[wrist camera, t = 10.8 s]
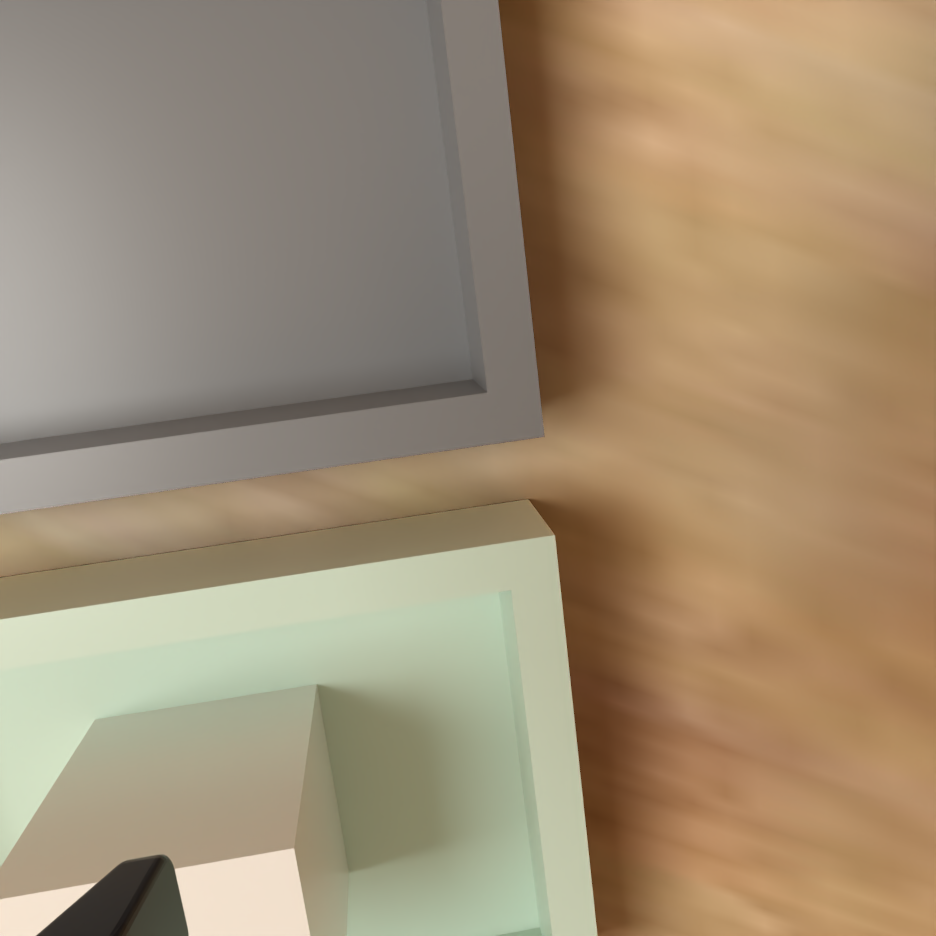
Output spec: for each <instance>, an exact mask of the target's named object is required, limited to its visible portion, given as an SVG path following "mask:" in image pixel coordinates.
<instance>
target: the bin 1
mask: <svg viewBox="0 0 936 936" xmlns="http://www.w3.org/2000/svg"><path fill="white" fill-rule="evenodd" d="M539 437H544V427H543V418H542V409H541V399H540V390H539V380H538V371H537V362H536V352H535V343H534V333H533V324H532V314H531V305H530V296H529V286H528V277H527V267H526V258H525V249H524V239H523V230H522V220H521V211H520V202H519V192H518V183H517V173H516V164H515V154H514V145H513V136H512V126H511V117H510V107H509V98H508V89H507V79H506V70H505V60H504V51H503V42H502V32H501V23H500V13H499V4H498V0H0V514H7V513H14V512H21V511H28V510H35V509H42V508H49V507H56V506H63V505H70V504H77V503H84V502H91V501H98V500H105V499H112V498H119V497H126V496H133V495H140V494H147V493H154V492H161V491H168V490H175V489H182V488H189V487H196V486H203V485H210V484H217V483H224V482H231V481H238V480H245V479H252V478H259V477H266V476H273V475H280V474H287V473H294V472H301V471H308V470H315V469H322V468H329V467H336V466H343V465H350V464H357V463H364V462H371V461H378V460H385V459H392V458H399V457H406V456H413V455H420V454H427V453H434V452H441V451H448V450H455V449H462V448H469V447H476V446H483V445H490V444H497V443H504V442H511V441H518V440H525V439H532V438H539Z"/></svg>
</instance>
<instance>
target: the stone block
mask: <svg viewBox="0 0 936 936" xmlns="http://www.w3.org/2000/svg"><path fill="white" fill-rule="evenodd" d="M158 854H164V855H166V856H168V857H169V858H170V860H171V861H172V863H173V866H174V869H175V873H176V878H177V882H178V887H179V891H180V895H181V900H182V904H183V909H184V913H185V918H186V922H187V927H188V933H189V936H347V914H348V888H349V869H348V864H347V858H346V852H345V846H344V840H343V834H342V829H341V823H340V817H339V811H338V805H337V799H336V793H335V788H334V782H333V776H332V770H331V764H330V758H329V753H328V747H327V741H326V735H325V729H324V723H323V718H322V712H321V706H320V700H319V694H318V688H317V684H315V685H309V686H302V687H296V688H290V689H283V690H277V691H271V692H265V693H258V694H252V695H246V696H239V697H233V698H227V699H221V700H214V701H208V702H202V703H195V704H189V705H183V706H177V707H170V708H164V709H158V710H152V711H145V712H139V713H133V714H126V715H120V716H114V717H108V718H101V719H95V720H94V722H93V723H92V725H91V726H90V728H89V730H88V731H87V733H86V734H85V736H84V737H83V739H82V741H81V742H80V744H79V745H78V747H77V748H76V750H75V752H74V753H73V755H72V756H71V758H70V759H69V761H68V762H67V764H66V766H65V767H64V769H63V770H62V772H61V773H60V775H59V777H58V778H57V780H56V781H55V783H54V784H53V786H52V787H51V789H50V791H49V792H48V794H47V795H46V797H45V798H44V800H43V802H42V803H41V805H40V806H39V808H38V809H37V811H36V812H35V814H34V816H33V817H32V819H31V820H30V822H29V823H28V825H27V827H26V828H25V830H24V831H23V833H22V834H21V836H20V838H19V839H18V841H17V842H16V844H15V845H14V847H13V848H12V850H11V852H10V853H9V855H8V856H7V858H6V859H5V861H4V863H3V864H2V866H1V867H0V936H36V935H37V934H38V933H40V932H41V931H42V930H43V929H44V928H45V927H47V926H48V925H49V924H50V923H51V922H52V921H54V920H55V919H56V918H57V917H58V916H59V915H60V914H62V913H63V912H64V911H65V910H66V909H67V908H69V907H70V906H71V905H72V904H73V903H74V902H76V901H77V900H78V899H79V898H80V897H81V896H82V895H84V894H85V893H86V892H87V891H88V890H89V889H91V888H92V887H93V886H94V885H95V884H96V883H98V882H99V881H100V880H101V879H102V878H103V877H104V876H106V875H107V874H108V873H109V872H110V871H111V870H113V869H114V868H115V867H116V866H117V865H119V864H120V863H121V862H123V861H126V860H130V859H135V858H141V857H147V856H153V855H158Z"/></svg>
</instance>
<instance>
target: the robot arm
mask: <svg viewBox="0 0 936 936" xmlns="http://www.w3.org/2000/svg"><path fill="white" fill-rule="evenodd" d="M36 936H189V933H188V927H187V922H186V918H185V913H184V909H183V904H182V900H181V895H180V891H179V887H178V882H177V878H176V873H175V869H174V866H173V863H172V861H171V860H170V858H169V857H168V856H166V855H164V854H158V855H153V856H147V857H141V858H135V859H130V860H126V861H123V862H121V863H120V864H119V865H117V866H116V867H115V868H114V869H113V870H111V871H110V872H109V873H108V874H107V875H106V876H104V877H103V878H102V879H101V880H100V881H99V882H98V883H96V884H95V885H94V886H93V887H92V888H91V889H89V890H88V891H87V892H86V893H85V894H84V895H82V896H81V897H80V898H79V899H78V900H77V901H76V902H74V903H73V904H72V905H71V906H70V907H69V908H67V909H66V910H65V911H64V912H63V913H62V914H60V915H59V916H58V917H57V918H56V919H55V920H54V921H52V922H51V923H50V924H49V925H48V926H47V927H45V928H44V929H43V930H42V931H41V932H40V933H38V934H37V935H36Z"/></svg>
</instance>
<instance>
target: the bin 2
mask: <svg viewBox="0 0 936 936" xmlns="http://www.w3.org/2000/svg"><path fill="white" fill-rule="evenodd" d="M315 684H317V688H318V694H319V700H320V706H321V712H322V718H323V723H324V729H325V735H326V741H327V747H328V753H329V758H330V764H331V770H332V776H333V782H334V788H335V793H336V799H337V805H338V811H339V817H340V823H341V829H342V834H343V840H344V846H345V852H346V858H347V864H348V869H349V888H348V914H347V936H597V926H596V917H595V907H594V898H593V888H592V879H591V870H590V860H589V851H588V841H587V832H586V823H585V813H584V804H583V794H582V785H581V776H580V766H579V757H578V747H577V738H576V728H575V719H574V710H573V700H572V691H571V681H570V672H569V663H568V653H567V644H566V634H565V625H564V616H563V606H562V597H561V587H560V578H559V569H558V559H557V550H556V540H555V534H554V533H553V532H552V530H551V529H550V528H549V526H548V525H547V524H546V522H545V521H544V520H543V518H542V517H541V515H540V514H539V513H538V511H537V510H536V509H535V507H534V506H533V505H532V503H531V502H530V501H529V499H526V500H519V501H512V502H506V503H499V504H492V505H485V506H479V507H472V508H465V509H458V510H452V511H445V512H438V513H431V514H425V515H418V516H411V517H405V518H398V519H391V520H384V521H378V522H371V523H364V524H357V525H351V526H344V527H337V528H330V529H324V530H317V531H310V532H303V533H297V534H290V535H283V536H277V537H270V538H263V539H256V540H250V541H243V542H236V543H229V544H223V545H216V546H209V547H202V548H196V549H189V550H182V551H176V552H169V553H162V554H155V555H149V556H142V557H135V558H128V559H122V560H115V561H108V562H101V563H95V564H88V565H81V566H74V567H68V568H61V569H54V570H48V571H41V572H34V573H27V574H21V575H14V576H7V577H0V867H1V866H2V864H3V863H4V861H5V859H6V858H7V856H8V855H9V853H10V852H11V850H12V848H13V847H14V845H15V844H16V842H17V841H18V839H19V838H20V836H21V834H22V833H23V831H24V830H25V828H26V827H27V825H28V823H29V822H30V820H31V819H32V817H33V816H34V814H35V812H36V811H37V809H38V808H39V806H40V805H41V803H42V802H43V800H44V798H45V797H46V795H47V794H48V792H49V791H50V789H51V787H52V786H53V784H54V783H55V781H56V780H57V778H58V777H59V775H60V773H61V772H62V770H63V769H64V767H65V766H66V764H67V762H68V761H69V759H70V758H71V756H72V755H73V753H74V752H75V750H76V748H77V747H78V745H79V744H80V742H81V741H82V739H83V737H84V736H85V734H86V733H87V731H88V730H89V728H90V726H91V725H92V723H93V722H94V720H95V719H101V718H108V717H114V716H120V715H126V714H133V713H139V712H145V711H152V710H158V709H164V708H170V707H177V706H183V705H189V704H195V703H202V702H208V701H214V700H221V699H227V698H233V697H239V696H246V695H252V694H258V693H265V692H271V691H277V690H283V689H290V688H296V687H302V686H309V685H315Z"/></svg>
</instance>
